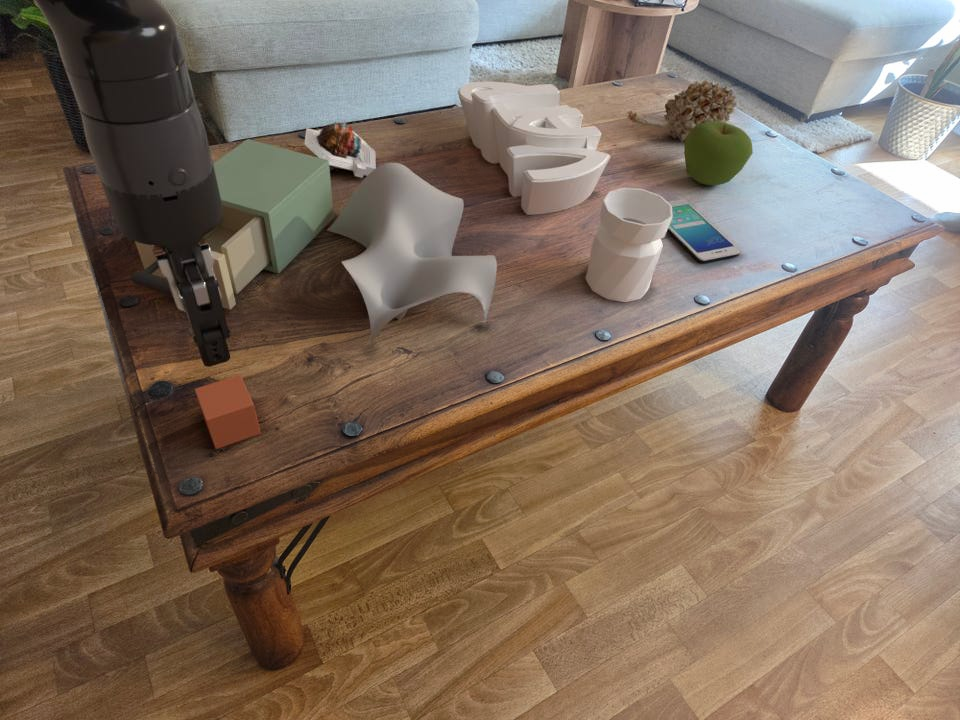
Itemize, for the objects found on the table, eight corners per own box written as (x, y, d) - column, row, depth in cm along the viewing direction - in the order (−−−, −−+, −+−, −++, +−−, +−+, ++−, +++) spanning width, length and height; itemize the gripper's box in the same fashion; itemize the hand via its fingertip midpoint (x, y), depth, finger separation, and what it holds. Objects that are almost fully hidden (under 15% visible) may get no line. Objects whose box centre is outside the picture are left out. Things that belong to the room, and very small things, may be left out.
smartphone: (684, 198, 105) (743, 251, 96) (683, 203, 106) (741, 256, 96) (645, 204, 103) (701, 259, 93) (644, 209, 103) (699, 264, 94)
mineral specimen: (293, 137, 107) (304, 97, 102) (361, 152, 113) (374, 115, 108) (304, 180, 100) (316, 139, 95) (376, 193, 105) (391, 155, 101)
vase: (614, 255, 94) (634, 180, 86) (661, 287, 90) (688, 211, 81) (571, 276, 90) (588, 199, 81) (618, 311, 85) (642, 233, 77)
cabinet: (278, 274, 85) (268, 213, 79) (195, 248, 87) (178, 187, 81) (334, 218, 95) (328, 160, 89) (257, 196, 97) (247, 138, 91)
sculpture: (510, 322, 82) (520, 258, 75) (360, 351, 76) (355, 285, 69) (446, 214, 98) (449, 153, 91) (318, 231, 92) (311, 168, 86)
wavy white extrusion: (615, 224, 100) (632, 160, 92) (514, 235, 95) (523, 169, 88) (534, 120, 123) (542, 62, 116) (449, 126, 119) (452, 66, 111)
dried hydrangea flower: (702, 120, 129) (719, 69, 122) (735, 142, 123) (754, 90, 116) (609, 134, 121) (621, 80, 114) (639, 159, 115) (654, 104, 108)
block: (215, 449, 65) (206, 420, 62) (204, 418, 68) (194, 388, 64) (261, 433, 67) (253, 404, 64) (247, 403, 69) (240, 374, 66)
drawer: (207, 332, 75) (192, 282, 70) (123, 305, 77) (103, 254, 72) (291, 250, 87) (283, 201, 82) (217, 228, 90) (205, 180, 84)
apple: (677, 192, 108) (696, 135, 101) (670, 162, 116) (688, 106, 109) (742, 201, 108) (766, 144, 101) (732, 169, 115) (753, 115, 108)
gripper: (82, 128, 49) (143, 298, 61) (116, 227, 41) (180, 403, 52) (186, 112, 52) (226, 277, 64) (238, 202, 44) (273, 373, 56)
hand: (205, 333), depth 58 cm, fingers open, 7 cm apart
